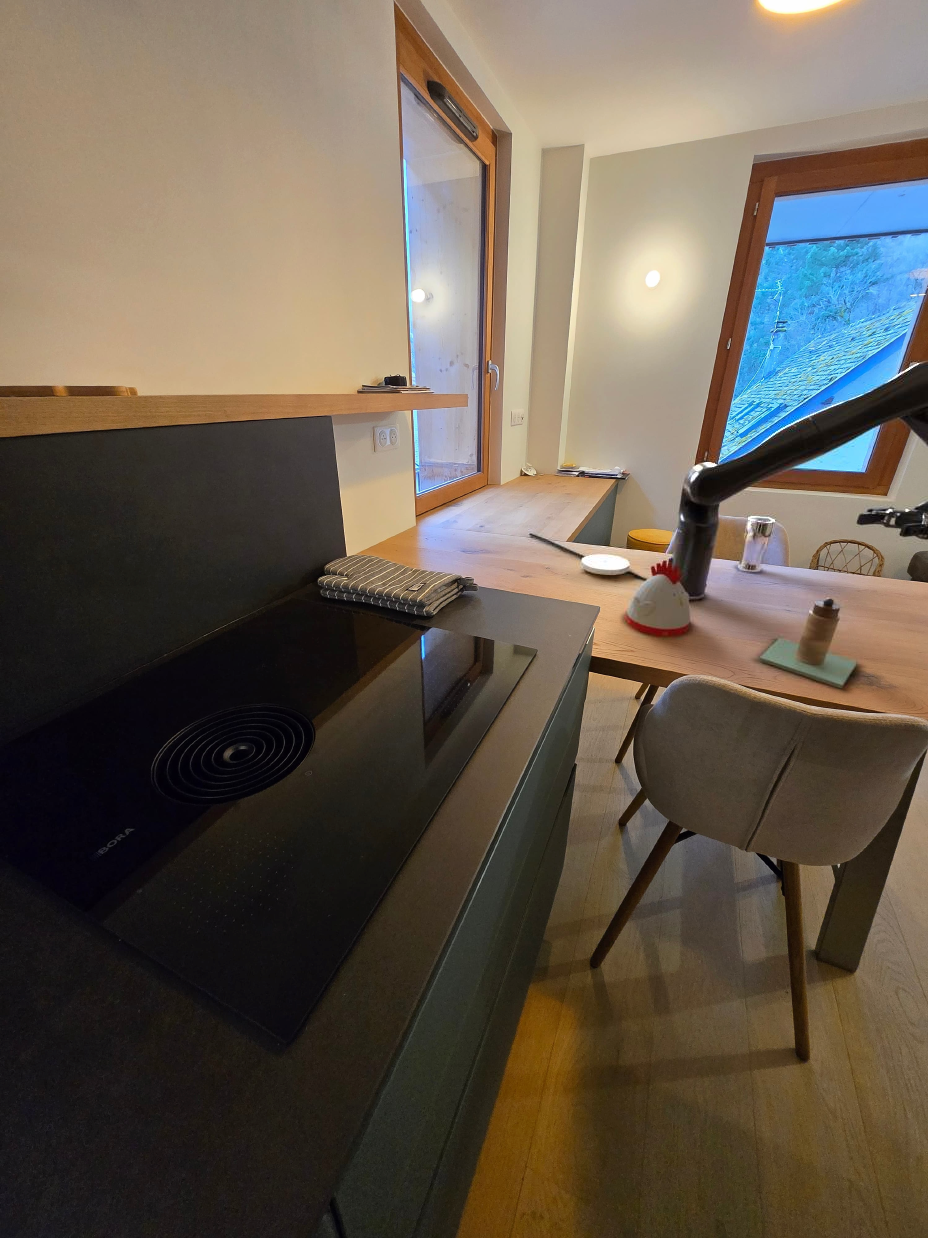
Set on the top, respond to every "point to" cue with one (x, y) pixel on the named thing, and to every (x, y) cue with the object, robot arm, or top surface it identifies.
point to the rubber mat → (829, 672)
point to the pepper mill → (818, 632)
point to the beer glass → (755, 543)
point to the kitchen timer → (660, 603)
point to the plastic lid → (605, 564)
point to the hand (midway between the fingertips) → (880, 524)
